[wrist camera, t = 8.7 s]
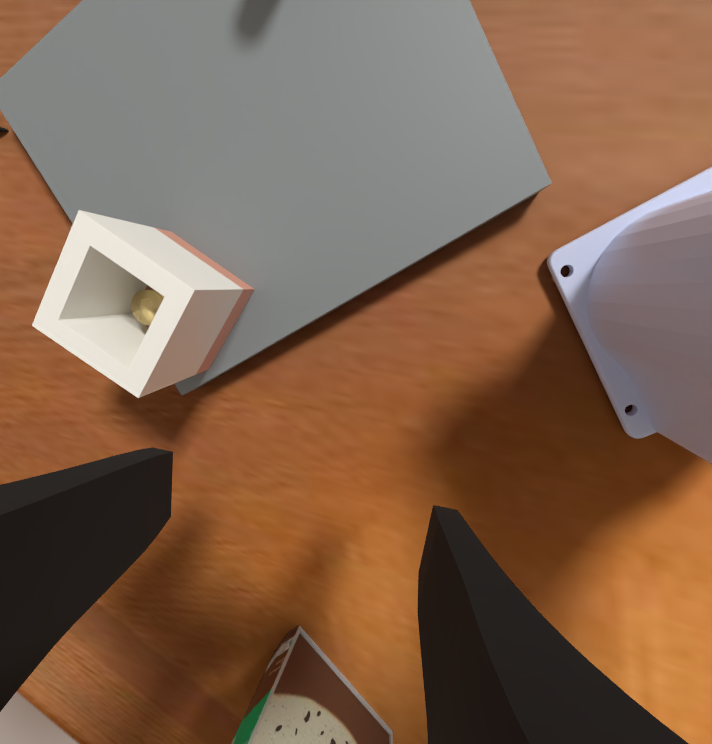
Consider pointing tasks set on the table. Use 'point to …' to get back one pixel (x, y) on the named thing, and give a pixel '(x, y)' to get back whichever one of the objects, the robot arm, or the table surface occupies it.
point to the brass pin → (146, 305)
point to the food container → (308, 702)
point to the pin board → (278, 139)
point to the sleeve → (114, 296)
